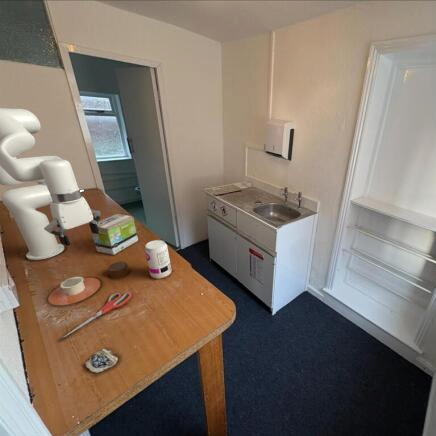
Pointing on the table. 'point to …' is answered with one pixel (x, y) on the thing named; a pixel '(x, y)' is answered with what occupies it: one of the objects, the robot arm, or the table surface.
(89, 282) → the plate
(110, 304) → the scissors
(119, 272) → the cylinder
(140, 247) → the table surface
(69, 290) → the cylinder
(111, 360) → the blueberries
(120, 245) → the tea box
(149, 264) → the supplement can
